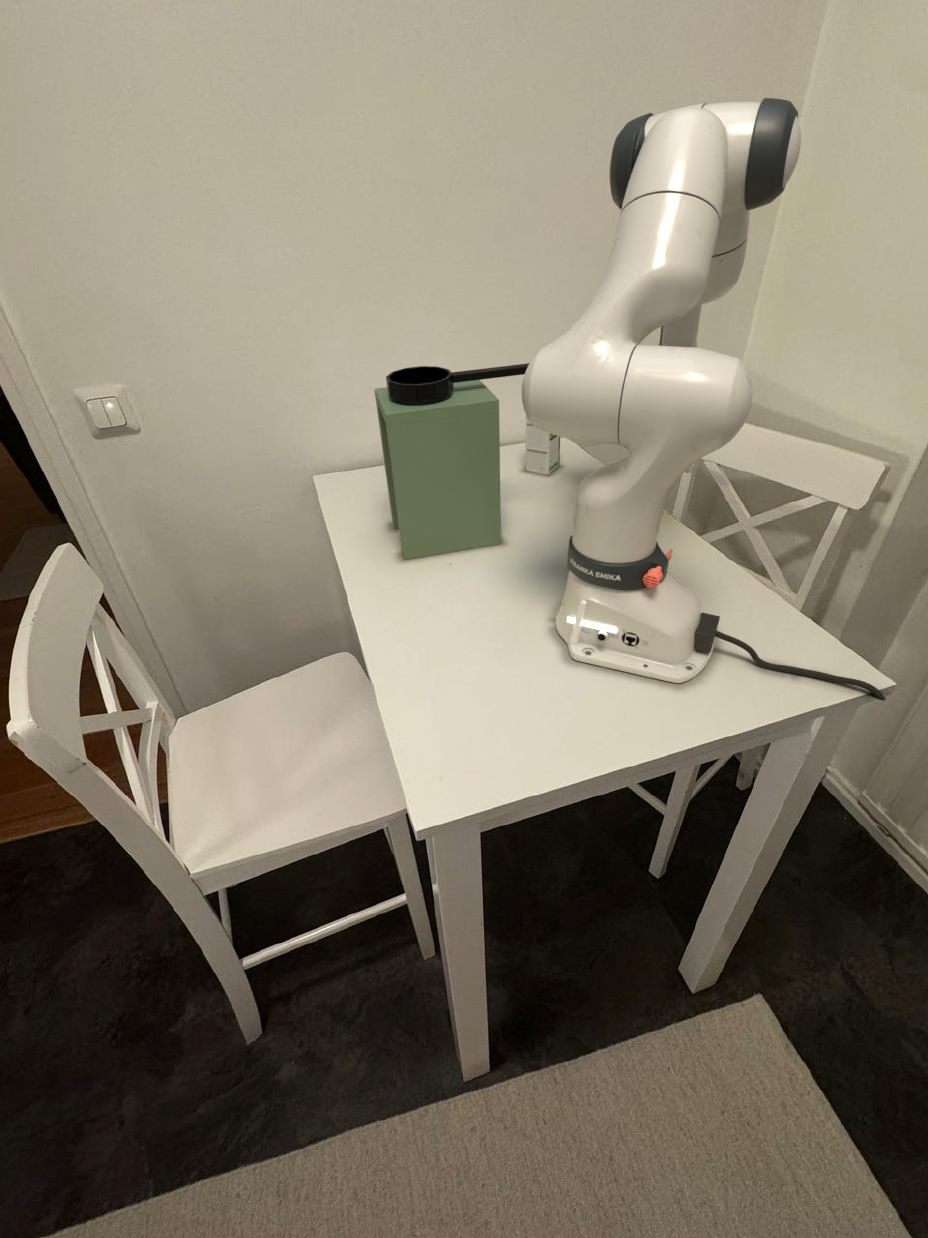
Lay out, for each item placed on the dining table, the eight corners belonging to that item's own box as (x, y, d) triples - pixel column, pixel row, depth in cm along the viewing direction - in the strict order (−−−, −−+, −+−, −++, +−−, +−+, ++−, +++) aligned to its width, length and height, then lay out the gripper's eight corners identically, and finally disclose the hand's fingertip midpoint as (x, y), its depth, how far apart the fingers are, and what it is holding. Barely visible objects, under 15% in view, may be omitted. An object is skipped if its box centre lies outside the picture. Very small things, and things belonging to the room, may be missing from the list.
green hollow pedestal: (481, 510, 121) (476, 376, 106) (501, 543, 110) (499, 399, 95) (392, 524, 118) (374, 388, 103) (404, 560, 107) (385, 414, 92)
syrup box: (548, 475, 133) (550, 409, 124) (524, 470, 135) (525, 405, 127) (559, 466, 136) (562, 401, 128) (536, 461, 139) (538, 397, 130)
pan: (533, 372, 106) (534, 352, 104) (555, 388, 98) (556, 368, 96) (385, 390, 102) (382, 370, 100) (394, 409, 93) (391, 388, 91)
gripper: (613, 388, 116) (556, 356, 110) (666, 422, 100) (603, 387, 94) (595, 418, 119) (539, 389, 113) (644, 456, 103) (581, 424, 97)
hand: (568, 389), depth 104 cm, fingers open, 8 cm apart
